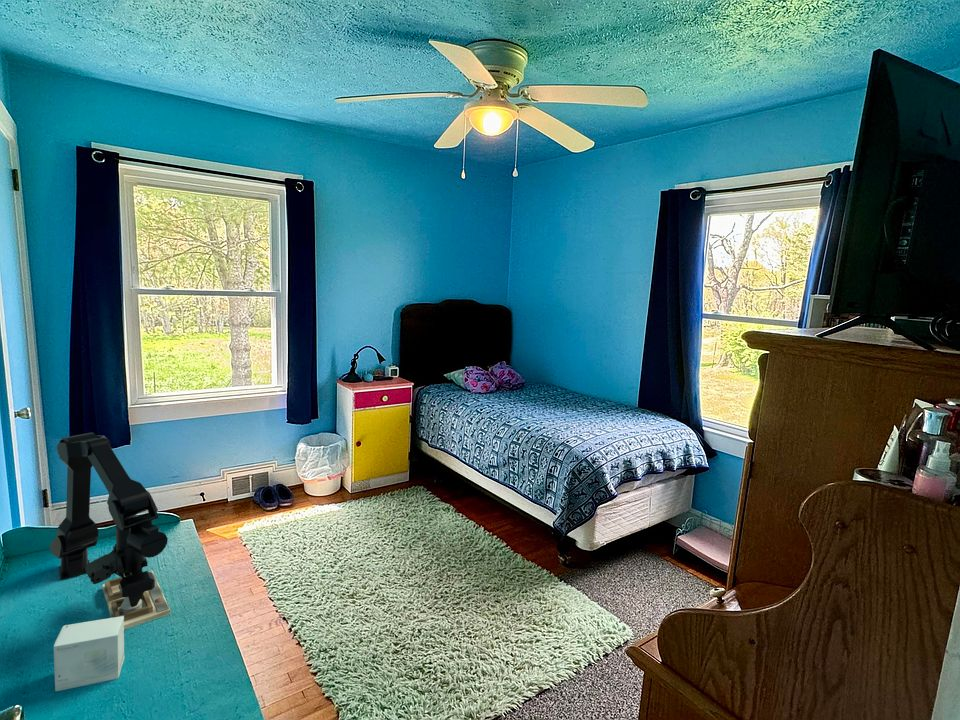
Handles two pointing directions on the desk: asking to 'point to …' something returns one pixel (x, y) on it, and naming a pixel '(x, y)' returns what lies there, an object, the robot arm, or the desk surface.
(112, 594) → the board
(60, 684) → the skincare box
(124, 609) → the rook chess piece
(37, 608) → the desk surface
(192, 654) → the desk surface
